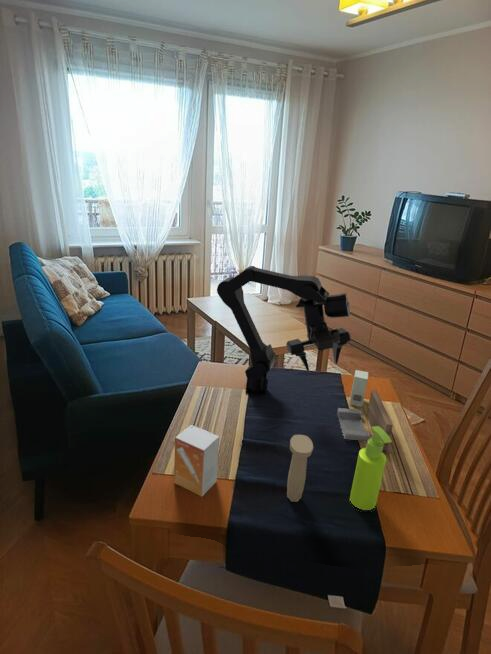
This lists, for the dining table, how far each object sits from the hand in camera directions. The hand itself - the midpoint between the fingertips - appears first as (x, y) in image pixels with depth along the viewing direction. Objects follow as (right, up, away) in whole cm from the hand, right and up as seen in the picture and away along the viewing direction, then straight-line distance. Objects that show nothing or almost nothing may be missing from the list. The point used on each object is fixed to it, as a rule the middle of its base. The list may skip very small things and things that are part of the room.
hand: (322, 367), depth 136 cm
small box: (-35, -24, -32) cm, 54 cm away
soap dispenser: (+3, -28, -35) cm, 45 cm away
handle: (-13, -27, -35) cm, 46 cm away
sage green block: (+13, -12, +8) cm, 19 cm away
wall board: (+14, -18, -8) cm, 25 cm away
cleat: (+8, -17, -6) cm, 20 cm away
